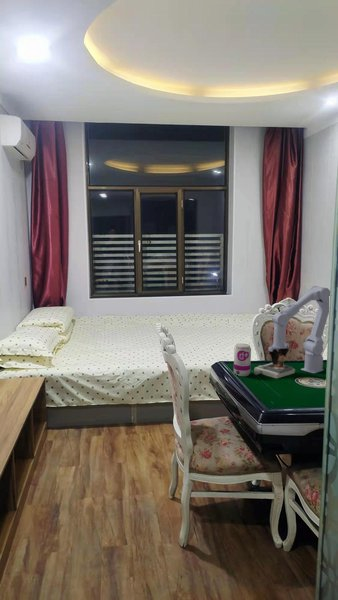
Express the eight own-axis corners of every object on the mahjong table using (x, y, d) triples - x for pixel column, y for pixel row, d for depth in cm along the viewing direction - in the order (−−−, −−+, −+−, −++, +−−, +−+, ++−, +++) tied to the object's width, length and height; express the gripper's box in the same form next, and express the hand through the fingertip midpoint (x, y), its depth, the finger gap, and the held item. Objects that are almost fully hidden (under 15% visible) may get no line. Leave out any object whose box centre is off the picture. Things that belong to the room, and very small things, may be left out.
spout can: (276, 364, 219) (277, 352, 218) (287, 367, 214) (288, 355, 214) (271, 365, 216) (271, 354, 215) (282, 369, 211) (282, 357, 210)
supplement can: (249, 377, 209) (251, 347, 207) (233, 376, 211) (234, 346, 209) (250, 372, 217) (251, 343, 215) (233, 371, 219) (234, 342, 217)
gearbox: (272, 366, 228) (272, 360, 228) (294, 372, 217) (295, 366, 217) (249, 372, 216) (249, 366, 216) (271, 380, 205) (271, 373, 205)
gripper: (277, 340, 206) (275, 367, 208) (294, 336, 215) (293, 362, 217) (265, 337, 212) (264, 364, 213) (283, 334, 221) (281, 359, 223)
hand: (278, 363), depth 216 cm, fingers closed on spout can, 5 cm apart
